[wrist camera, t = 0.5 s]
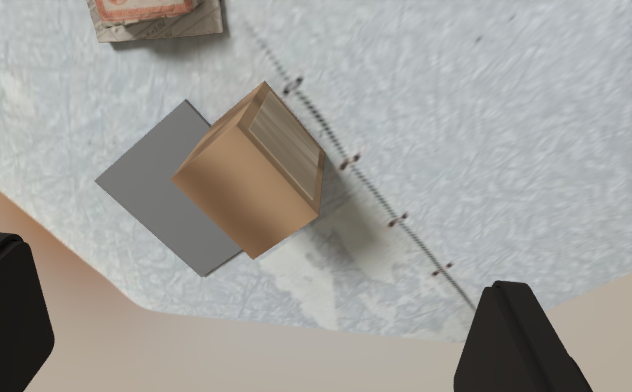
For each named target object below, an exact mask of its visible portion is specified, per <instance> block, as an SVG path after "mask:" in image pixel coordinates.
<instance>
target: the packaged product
mask: <svg viewBox="0 0 632 392" xmlns="http://www.w3.org/2000/svg"><path fill="white" fill-rule="evenodd" d="M87 4H88V7H89V10H90V14H91V18H92V20H93V23H94V27H95V30H96V35H97V39H98V41H99V43H104V42H120V41H132V40H142V39H159V38H173V37H184V36H196V35H205V34H214V33H223V31H224V30H223V23H222V15H221V7H220V1H219V0H87Z"/></svg>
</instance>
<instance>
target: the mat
mask: <svg viewBox="0 0 632 392" xmlns="http://www.w3.org/2000/svg"><path fill="white" fill-rule="evenodd" d="M210 128H211V125H210V124H209V123H208V122H207V121H206V120H205V119H204V118H203V117H202V116H201V115H200V114H199V113H198V111H197V110H196V109H195V108H194V107H193V106H192V105H191V104H190V103H189V102H188V101H187V100H186V99H185V100H184V101H183V102H182V103H181V104H180V105H179V106H178V107H176V108H175V109H174V110H173V111H172V112H171V113H170V114H169V115H168V116H166V117H165V118H164V119H163V120H162V121H161V122H160V123H159V124H157V125H156V126H155V127H154V128H153V129H152V130H151V131H150V132H148V133H147V134H146V135H145V136H144V137H143V138H142V139H141V140H140V141H138V142H137V143H136V144H135V145H134V146H133V147H132V148H131V149H129V150H128V151H127V152H126V153H125V154H124V155H123V156H122V157H120V158H119V159H118V160H117V161H116V162H115V163H114V164H113V165H112V166H110V167H109V168H108V169H107V170H106V171H105V172H104V173H103V174H101V175H100V176H99V177H98V178H97V179H96V180H95V182H96V183H97V184H98V185H99V186H100V187H101V188H103V189H104V190H105V191H106V192H107V193H108V194H109V195H110V196H112V197H113V198H114V199H115V200H116V201H117V202H118V203H119V204H120V205H122V206H123V207H124V208H125V209H126V210H127V211H128V212H129V213H130V214H132V215H133V216H134V217H135V218H136V219H137V220H138V221H139V222H141V223H142V224H143V225H144V226H145V227H146V228H147V229H148V230H149V231H151V232H152V233H153V234H154V235H155V236H156V237H157V238H158V239H159V240H161V241H162V242H163V243H164V244H165V245H166V246H167V247H168V248H170V249H171V250H172V251H173V252H174V253H175V254H176V255H177V256H178V257H180V258H181V259H182V260H183V261H184V262H185V263H186V264H187V265H188V266H190V267H191V268H192V269H193V270H194V271H195V272H196V273H197V274H199V275H200V276H201V277H203V276H204V275H206V274H207V273H208V272H210V271H211V270H213V269H214V268H216V267H217V266H219V265H220V264H222V263H223V262H225V261H226V260H227V259H229V258H230V257H232V256H233V255H235V254H236V253H238V252H239V251H241V250H242V249H241V248H240V247H239V246H238V245H237V244H236V243H235V242H234V241H233V240H232V239H231V238H230V237H229V236H228V235H227V234H226V233H225V232H224V231H223V230H222V229H221V228H220V227H219V226H218V225H217V224H216V223H215V222H213V221H212V220H211V219H210V218H209V217H208V216H207V215H206V214H205V213H204V212H203V211H202V210H201V209H200V208H199V207H198V206H197V205H196V204H195V203H194V202H193V201H192V200H191V199H190V198H189V197H188V196H187V195H186V194H185V193H183V192H182V191H181V190H180V189H179V188H178V187H177V186H176V185H175V184H174V183H173V182H172V181H171V180H170V179H171V178H172V176H173V175H174V174H175V173H176V171H177V170H178V169H179V167H180V166H181V165H182V164H183V162H184V161H185V160H186V158H187V157H188V156H189V155H190V153H191V152H192V151H193V149H194V148H195V147H196V146H197V144H198V143H199V142H200V140H201V139H202V138H203V137H204V135H205V134H206V133H207V131H208V130H209V129H210Z"/></svg>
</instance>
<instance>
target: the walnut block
mask: <svg viewBox="0 0 632 392" xmlns="http://www.w3.org/2000/svg"><path fill="white" fill-rule="evenodd" d="M324 157H325V152H324V151H323V149H322V148H321V147H320V146H319V145H318V143H317V142H316V141H315V140H314V139H313V137H312V136H311V135H310V134H309V133H308V132H307V130H306V129H305V128H304V127H303V126H302V124H301V123H300V122H299V121H298V120H297V119H296V117H295V116H294V115H293V114H292V113H291V111H290V110H289V109H288V108H287V107H286V106H285V104H284V103H283V102H282V101H281V100H280V98H279V97H278V96H277V95H276V94H275V92H274V91H273V90H272V89H271V88H270V87H269V85H268V84H267V83H266V82H265V81H264V82H263V83H261V84H260V85H259V86H258V87H257V88H255V89H254V90H253V91H252V92H251V93H249V94H248V95H247V96H246V97H245V98H243V99H242V100H241V101H240V102H239V103H238V104H236V105H235V106H234V107H233V108H232V109H230V110H229V111H228V112H227V113H226V114H224V115H223V116H222V117H221V118H220V119H218V120H217V121H216V122H215V123H214V124H213V125H212V126H211V128H210V129H209V130H208V131H207V133H206V134H205V135H204V137H203V138H202V139H201V140H200V142H199V143H198V144H197V146H196V147H195V148H194V149H193V151H192V152H191V153H190V155H189V156H188V157H187V158H186V160H185V161H184V162H183V164H182V165H181V166H180V167H179V169H178V170H177V171H176V173H175V174H174V175H173V176H172V178H171V179H170V180H171V181H172V182H173V183H174V184H175V185H176V186H177V187H178V188H179V189H180V190H181V191H182V192H183V193H185V194H186V195H187V196H188V197H189V198H190V199H191V200H192V201H193V202H194V203H195V204H196V205H197V206H198V207H199V208H200V209H201V210H202V211H203V212H204V213H205V214H206V215H207V216H208V217H209V218H210V219H211V220H212V221H213V222H215V223H216V224H217V225H218V226H219V227H220V228H221V229H222V230H223V231H224V232H225V233H226V234H227V235H228V236H229V237H230V238H231V239H232V240H233V241H234V242H235V243H236V244H237V245H238V246H239V247H240V248H241V249H242V250H243V251H244V252H246V253H247V254H248V255H249V256H250V257H251V258H252V259H253V260H254V259H255V258H257V257H258V256H260V255H261V254H263V253H264V252H266V251H267V250H269V249H270V248H272V247H273V246H275V245H276V244H278V243H279V242H281V241H282V240H284V239H285V238H287V237H288V236H290V235H291V234H293V233H294V232H296V231H297V230H299V229H300V228H302V227H303V226H305V225H306V224H308V223H309V222H311V221H312V220H314V219H315V218H317V217H318V216H319V209H320V199H321V188H322V178H323V168H324Z"/></svg>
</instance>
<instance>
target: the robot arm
mask: <svg viewBox="0 0 632 392" xmlns="http://www.w3.org/2000/svg"><path fill="white" fill-rule="evenodd" d="M53 347H54V333H53V330H52V326H51V323H50V319H49V315H48V311H47V307H46V304H45V300H44V296H43V293H42V289H41V285H40V281H39V278H38V274H37V270H36V267H35V263H34V259H33V256H32V252H31V248H30V246H29V245H28V244H27V243H26V242H24V241H23V239H22V238H21V237H20V236H19V235H17V234H10V233H0V392H23V391H24V390H25V388H26V387H27V386H28V384H29V383H30V381H31V380H32V379H33V377H34V376H35V375H36V373H37V372H38V371H39V369H40V368H41V366H42V365H43V364H44V362H45V361H46V359H47V358H48V357H49V355H50V354H51V352H52V349H53ZM454 392H593V391H592V389H591V387H590V386H589V384H588V382H587V380H586V379H585V377H584V375H583V374H582V372H581V370H580V368H579V367H578V365H577V364H576V362H575V361H574V360H573V358H572V357H570V356H569V355H568V353H567V351H566V349H565V348H564V346H563V344H562V342H561V341H560V339H559V337H558V335H557V334H556V332H555V330H554V328H553V327H552V325H551V323H550V322H549V320H548V318H547V317H546V315H545V313H544V311H543V309H542V307H541V306H540V304H539V302H538V301H537V299H536V297H535V295H534V294H533V292H532V290H531V288H530V287H529V286H528V284H525V283H519V282H509V281H499V280H498V281H495V282H494V283H493V285H492V287H485V288H484V290H483V292H482V295H481V298H480V301H479V304H478V307H477V310H476V313H475V316H474V319H473V322H472V325H471V328H470V331H469V334H468V337H467V340H466V343H465V346H464V349H463V352H462V355H461V358H460V361H459V364H458V367H457V370H456V373H455V376H454Z"/></svg>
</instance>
